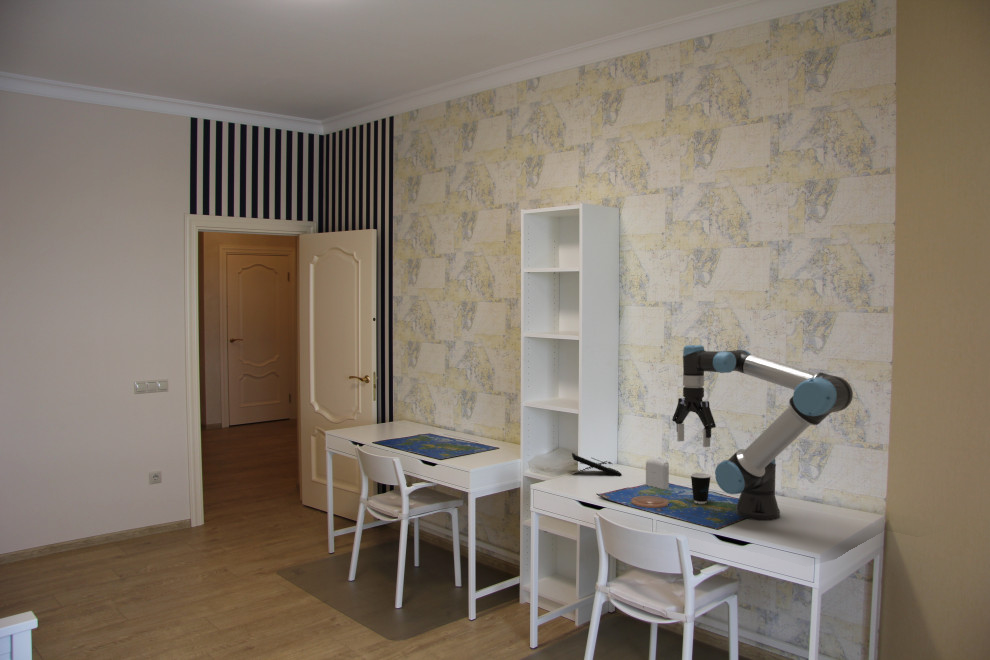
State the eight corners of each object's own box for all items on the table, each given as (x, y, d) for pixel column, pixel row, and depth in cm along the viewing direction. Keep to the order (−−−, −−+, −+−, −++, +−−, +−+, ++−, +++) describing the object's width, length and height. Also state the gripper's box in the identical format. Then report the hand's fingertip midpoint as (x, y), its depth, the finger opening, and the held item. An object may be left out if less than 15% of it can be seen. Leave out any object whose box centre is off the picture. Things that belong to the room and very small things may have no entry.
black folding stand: (618, 473, 334) (618, 451, 334) (621, 478, 324) (622, 455, 324) (570, 472, 334) (571, 451, 334) (573, 477, 324) (573, 455, 324)
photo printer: (644, 486, 308) (644, 457, 307) (650, 484, 310) (650, 455, 310) (663, 490, 300) (664, 461, 300) (670, 489, 303) (670, 459, 302)
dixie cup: (706, 506, 276) (706, 478, 276) (686, 503, 281) (687, 475, 280) (713, 502, 282) (714, 474, 282) (694, 498, 287) (694, 471, 287)
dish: (676, 505, 277) (676, 501, 277) (647, 509, 271) (647, 506, 271) (652, 496, 290) (652, 493, 290) (623, 501, 283) (623, 497, 283)
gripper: (726, 389, 261) (725, 448, 261) (678, 383, 283) (678, 438, 284) (710, 390, 258) (710, 449, 258) (663, 384, 280) (663, 439, 280)
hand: (693, 443), depth 271 cm, fingers open, 13 cm apart
